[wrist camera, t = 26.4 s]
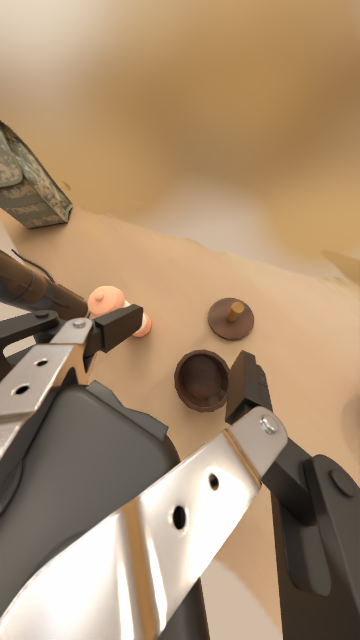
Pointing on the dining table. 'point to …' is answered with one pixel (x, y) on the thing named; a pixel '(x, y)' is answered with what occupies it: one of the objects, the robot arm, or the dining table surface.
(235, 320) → the lid
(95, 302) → the pepper shaker
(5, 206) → the lunch bag
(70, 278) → the dining table surface
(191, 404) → the tin
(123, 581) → the robot arm
